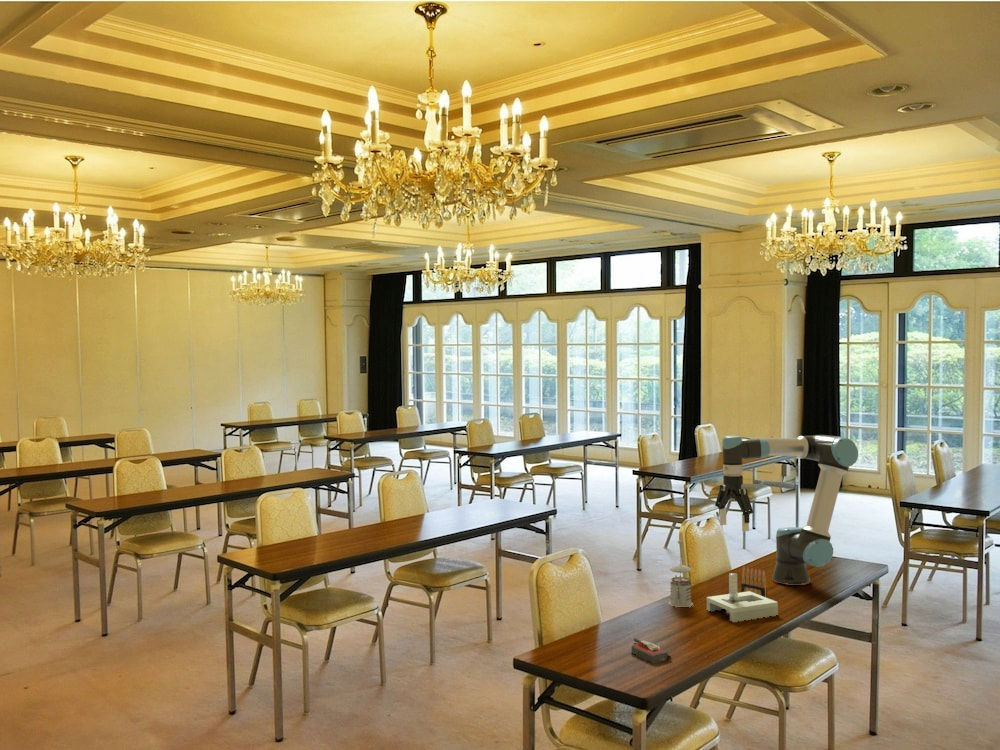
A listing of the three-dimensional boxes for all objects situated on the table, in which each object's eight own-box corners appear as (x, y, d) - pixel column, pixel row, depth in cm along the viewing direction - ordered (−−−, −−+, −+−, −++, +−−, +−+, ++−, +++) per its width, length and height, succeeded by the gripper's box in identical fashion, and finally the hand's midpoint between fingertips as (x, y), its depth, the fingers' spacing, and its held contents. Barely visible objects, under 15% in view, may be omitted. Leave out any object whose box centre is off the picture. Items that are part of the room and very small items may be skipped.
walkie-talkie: (677, 661, 258) (636, 642, 276) (676, 647, 258) (636, 629, 276) (655, 666, 254) (616, 647, 271) (655, 652, 254) (615, 634, 271)
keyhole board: (749, 603, 317) (749, 590, 317) (777, 615, 302) (777, 601, 302) (706, 610, 310) (706, 596, 309) (733, 622, 295) (733, 608, 295)
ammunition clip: (767, 600, 322) (767, 570, 322) (764, 601, 320) (764, 570, 320) (743, 594, 330) (743, 565, 330) (740, 595, 328) (740, 566, 328)
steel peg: (734, 611, 308) (734, 571, 308) (744, 615, 303) (744, 575, 303) (722, 613, 306) (722, 573, 306) (732, 617, 301) (731, 576, 301)
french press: (696, 602, 320) (695, 538, 320) (689, 610, 310) (689, 544, 309) (671, 599, 324) (670, 536, 324) (664, 607, 314) (663, 542, 313)
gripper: (705, 472, 335) (706, 523, 335) (746, 479, 312) (747, 534, 312) (720, 470, 338) (721, 521, 338) (761, 477, 315) (763, 532, 315)
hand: (734, 528), depth 325 cm, fingers open, 13 cm apart
